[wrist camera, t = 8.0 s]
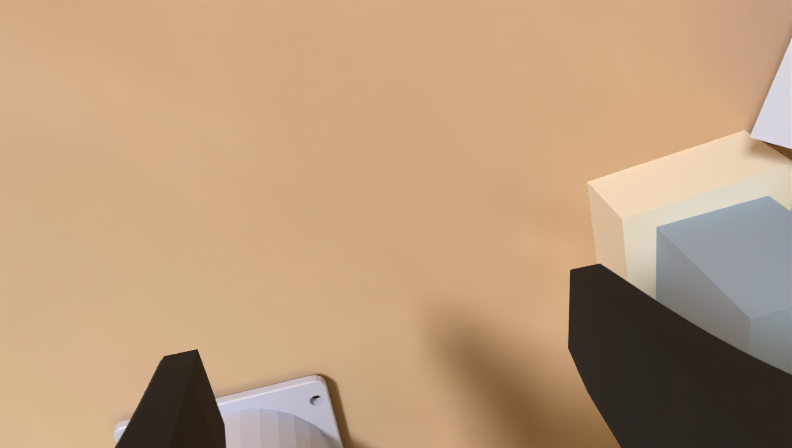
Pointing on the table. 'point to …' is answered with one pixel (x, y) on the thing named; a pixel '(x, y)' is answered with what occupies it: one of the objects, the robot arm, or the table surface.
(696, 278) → the blue block
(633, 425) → the robot arm
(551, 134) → the table surface
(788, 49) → the wedge on round base
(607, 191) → the foundation slab
